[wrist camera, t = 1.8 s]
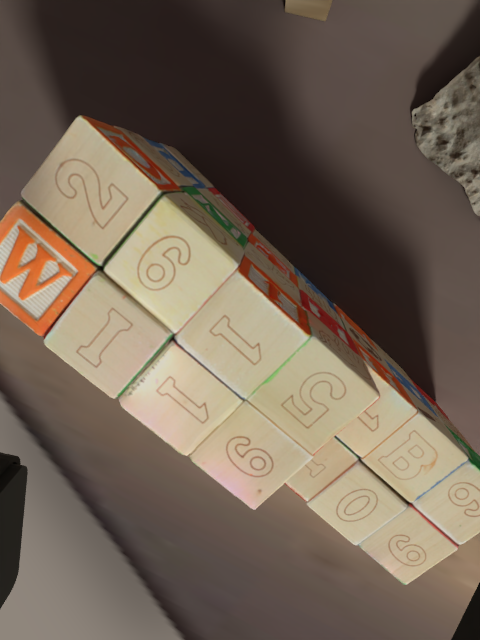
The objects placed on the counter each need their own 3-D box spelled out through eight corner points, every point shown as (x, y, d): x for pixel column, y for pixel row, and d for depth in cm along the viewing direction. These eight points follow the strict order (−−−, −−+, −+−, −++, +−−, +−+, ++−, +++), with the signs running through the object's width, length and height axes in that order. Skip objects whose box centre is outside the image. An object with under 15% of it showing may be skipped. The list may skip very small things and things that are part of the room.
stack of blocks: (440, 401, 27) (570, 570, 15) (362, 464, 29) (425, 661, 17) (172, 144, 24) (74, 106, 12) (101, 231, 25) (-47, 273, 14)
